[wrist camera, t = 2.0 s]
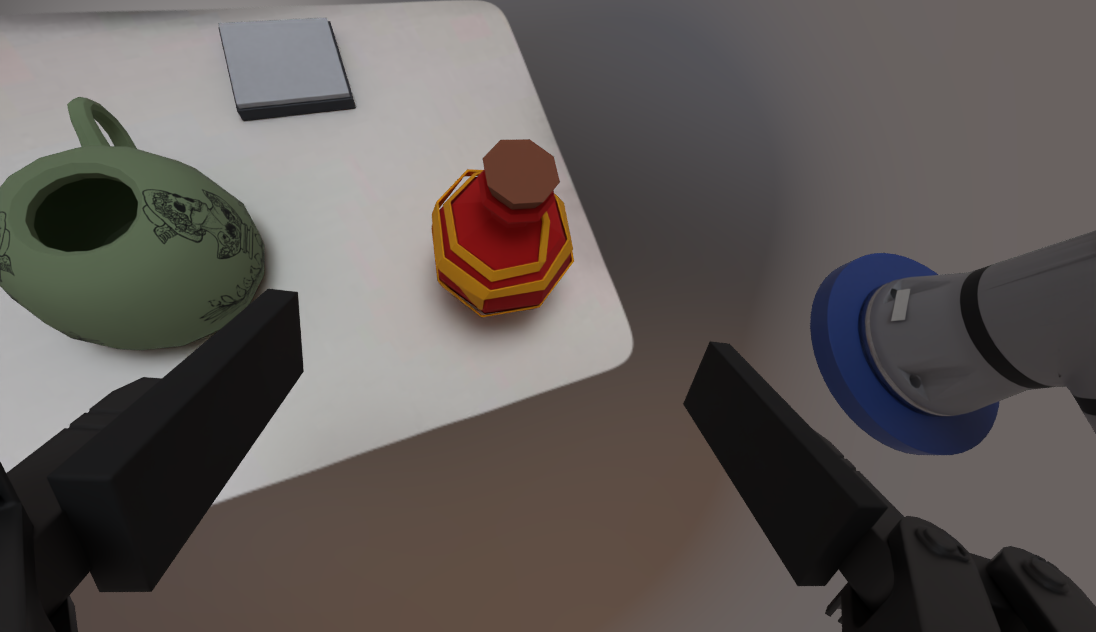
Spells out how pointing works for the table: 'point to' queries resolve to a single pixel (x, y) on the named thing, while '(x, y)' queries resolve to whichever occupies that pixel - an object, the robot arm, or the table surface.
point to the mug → (125, 242)
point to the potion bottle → (503, 231)
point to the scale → (285, 67)
